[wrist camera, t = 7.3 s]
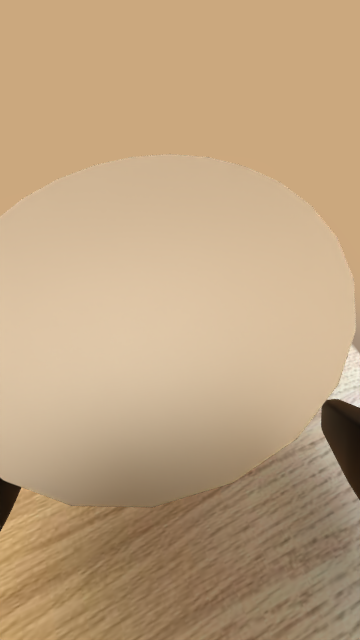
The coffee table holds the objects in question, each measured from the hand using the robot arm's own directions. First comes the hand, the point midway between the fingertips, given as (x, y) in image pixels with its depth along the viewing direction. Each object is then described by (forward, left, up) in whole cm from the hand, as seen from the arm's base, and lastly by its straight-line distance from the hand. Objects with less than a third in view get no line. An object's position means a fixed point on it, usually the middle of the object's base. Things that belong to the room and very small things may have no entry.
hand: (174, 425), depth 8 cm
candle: (0, -2, -10) cm, 10 cm away
